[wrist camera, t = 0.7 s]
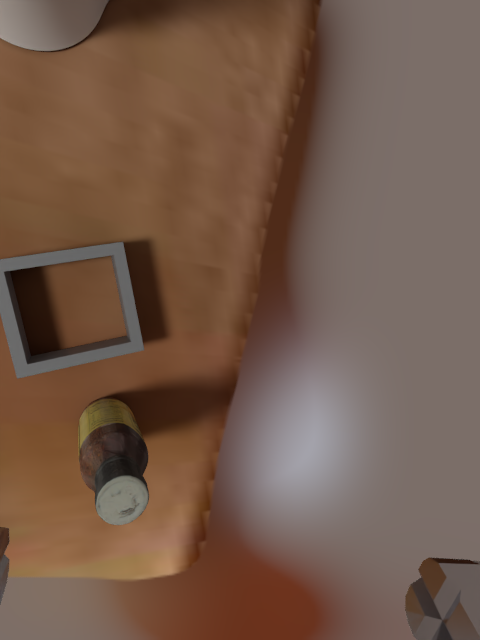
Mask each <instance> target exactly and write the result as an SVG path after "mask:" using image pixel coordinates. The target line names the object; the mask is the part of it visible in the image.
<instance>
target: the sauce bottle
mask: <svg viewBox="0 0 480 640" xmlns="http://www.w3.org/2000/svg"><path fill="white" fill-rule="evenodd" d="M78 442H79V463H80V470H81V475H82V478H83V480H84V482H85V483H86V485H87V486H88V487H89V488H90V489H92V490H93V491H94V492H95V505H96V510H97V513H98V515H99V516H100V517H101V518H102V519H103V520H104V521H106V522H107V523H110V524H113V525H122V524H127V523H130V522H132V521H133V520H135V519H136V518H137V517H138V516H140V515H141V514H142V512H143V511H144V510H145V508H146V506H147V504H148V500H149V493H148V488H147V483H146V481H145V479H144V477H143V476H142V475H143V473H144V471H145V469H146V466H147V463H148V451H147V447H146V444H145V442H144V439H143V437H142V435H141V432H140V430H139V427H138V425H137V422H136V420H135V417H134V415H133V413H132V411H131V409H130V408H129V407H128V406H127V405H126V404H125V403H123V402H121V401H120V400H118V399H115V398H111V397H110V398H102V399H99V400H96V401H93V402H91V403H90V404H89V405H88V406H87V407H86V408H85V410H84V412H83V414H82V416H81V418H80V420H79V426H78Z"/></svg>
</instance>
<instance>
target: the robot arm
mask: <svg viewBox="0 0 480 640" xmlns="http://www.w3.org/2000/svg"><path fill="white" fill-rule="evenodd" d="M108 1H109V0H0V38H1V39H3V40H5V41H7V42H9V43H11V44H14V45H16V46H19V47H22V48H26V49H31V50H37V51H54V50H60V49H64V48H68V47H70V46H73V45H75V44H77V43H78V42H80V41H82V40H83V39H84V38H86V37H87V36H88V35H89V34H90V33H91V32H92V31H93V29H94V28H95V27H96V25H97V23H98V22H99V20H100V18H101V15H102V13H103V11H104V8H105V6H106V4H107V3H108ZM8 544H9V528H4V527H0V603H1V601H2V597H3V594H4V591H5V587H6V583H7V578H8V572H9V559H8V558H7V557H6V556H5V555H4V553H5V550H6V548H7V546H8ZM419 572H420V575H421V578H419V579H418V580H416V581H415V582H413V583H412V584H411V585H410V587H409V589H408V592H407V594H406V601H405V611H406V616H407V620H408V624H409V626H410V629H411V631H412V634H413V636H414V637H415V638H416V639H417V640H480V561H471V560H464V559H446V558H445V559H444V558H428V559H426V560H424V561H423V562H422V564H421V566H420V568H419Z"/></svg>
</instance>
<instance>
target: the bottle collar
mask: <svg viewBox="0 0 480 640" xmlns="http://www.w3.org/2000/svg"><path fill="white" fill-rule="evenodd" d="M110 255H111V258H112V263H113V268H114V273H115V278H116V283H117V288H118V292H119V297H120V302H121V307H122V312H123V317H124V322H125V327H126V332H127V336H124V337H119V338H114V339H110V340H105V341H100V342H95V343H91V344H86V345H81V346H77V347H72V348H67V349H62V350H58V351H53V352H48V353H43V354H39V355H34V356H31V354H30V350H29V346H28V342H27V338H26V334H25V330H24V326H23V322H22V318H21V314H20V310H19V306H18V302H17V298H16V294H15V290H14V286H13V282H12V278H11V274H10V271H12V270H18V269H25V268H31V267H38V266H45V265H51V264H58V263H64V262H71V261H77V260H84V259H91V258H97V257H104V256H110ZM0 314H1V318H2V322H3V326H4V329H5V333H6V337H7V341H8V345H9V349H10V353H11V356H12V360H13V364H14V368H15V372H16V376H17V378H22V377H26V376H31V375H35V374H40V373H44V372H49V371H53V370H57V369H62V368H66V367H71V366H75V365H80V364H84V363H89V362H93V361H98V360H102V359H107V358H111V357H115V356H120V355H124V354H129V353H133V352H138V351H142V350H144V346H143V341H142V336H141V331H140V326H139V321H138V316H137V311H136V306H135V301H134V295H133V290H132V285H131V280H130V275H129V270H128V265H127V260H126V255H125V250H124V244H123V242H118V243H111V244H104V245H97V246H90V247H83V248H76V249H70V250H63V251H56V252H49V253H42V254H35V255H28V256H21V257H14V258H7V259H0Z"/></svg>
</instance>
